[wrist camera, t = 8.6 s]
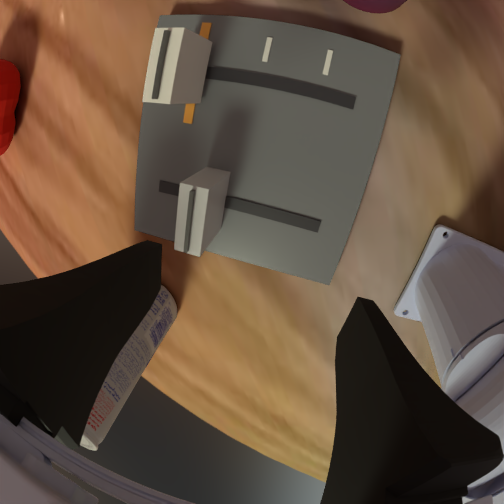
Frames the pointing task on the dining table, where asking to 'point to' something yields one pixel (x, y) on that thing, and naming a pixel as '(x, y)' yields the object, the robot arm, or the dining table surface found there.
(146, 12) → the dining table surface
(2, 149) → the tomato
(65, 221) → the dining table surface
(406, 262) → the dining table surface
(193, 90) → the fader tab
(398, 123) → the dining table surface
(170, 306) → the beverage can
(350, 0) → the cup
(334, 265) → the console
